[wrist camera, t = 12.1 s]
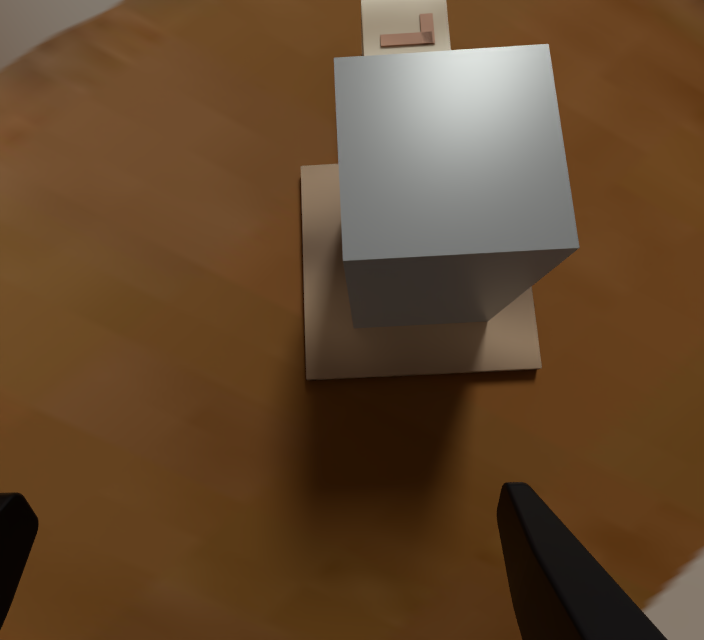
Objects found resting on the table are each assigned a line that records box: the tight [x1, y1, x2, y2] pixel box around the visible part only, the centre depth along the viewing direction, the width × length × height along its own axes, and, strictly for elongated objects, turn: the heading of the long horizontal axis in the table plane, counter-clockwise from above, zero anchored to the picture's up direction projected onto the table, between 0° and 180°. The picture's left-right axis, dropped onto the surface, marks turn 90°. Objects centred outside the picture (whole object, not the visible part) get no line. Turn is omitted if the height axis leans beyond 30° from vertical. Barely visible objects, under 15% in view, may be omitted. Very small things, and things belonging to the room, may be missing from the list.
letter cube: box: [361, 0, 451, 56], centre depth 24 cm, size 4×4×4 cm
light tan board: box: [301, 164, 542, 380], centre depth 24 cm, size 11×11×1 cm
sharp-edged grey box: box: [334, 44, 579, 328], centre depth 18 cm, size 6×6×10 cm
